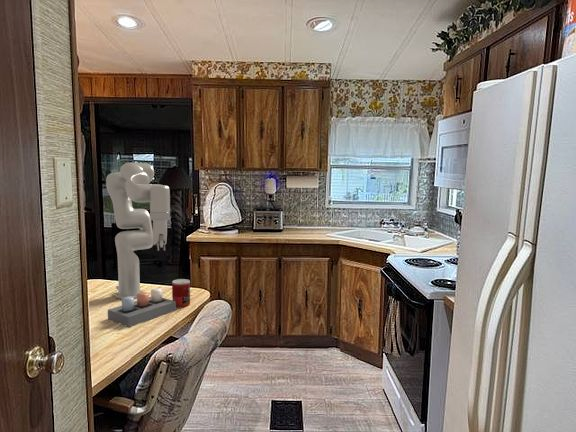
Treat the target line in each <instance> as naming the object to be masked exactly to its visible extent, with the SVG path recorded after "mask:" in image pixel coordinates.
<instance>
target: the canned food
mask: <svg viewBox="0 0 576 432" xmlns="http://www.w3.org/2000/svg"><path fill="white" fill-rule="evenodd" d="M171 281H172V282H171V293H172V295H171V297H172V298H171V300H172V301H176V308H186V307H189V306H190V305H191V281H190V279H185V278H177V279H174V280H171Z"/></svg>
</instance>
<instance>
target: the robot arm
mask: <svg viewBox="0 0 576 432" xmlns="http://www.w3.org/2000/svg"><path fill="white" fill-rule="evenodd" d="M154 176H155V169H154V167H153V165H151V164H150V163H147V162H126V163H124V164H122V166H121V167H120V171H117V172H111V173H108V175H107V176H106V179H105V185H106V186H105V187H106V189H107V193H108V195H109V197H110V199H111V201H112V208H113V214H114V221H115V224H116V227H117V228H119V229H121V230H125V229H126V230H125V231H120V232H118V233H117V234H116V235H115V237H114V242H115V248H116V254H117V255H116V256H117V273H118V275H117V277H118V279H117V280H118V283H117V284H118V285H116V287H115V289H117V292H116V293H115V298H116V299H118V300H122V298H123V297H128V296H132V297H134V299H137V294H138V293H141V292H144V291H143V290H141V283H140V281H141V280H140V276H141V275H140V273H141V272H140V259H139V257H138V255H137V254H136V253H135V251H138V250H139V251H140V250H148V249H151V248H152V247H153V246H155V254H156V259H157V260H156V261H159V262H160V261H166V258H167V257H166V256H167V252H166V244H167V239H168V238H167V237H168V221H169V220H171V197H170V196H171V195H170V193H171V192H170V191H171V189H170V187H169V186H168V185H165V184H164V185H163V184H159V183H157V184H156V183H155V184H154V183H153V184H151V182H152V181H153V180H154V178H155V177H154ZM133 203H138V204H139V203H143V204H144V203H149V211H148V210H147V209H145V208H134V207H133ZM149 212H150V213H149ZM129 229H136V230H129Z"/></svg>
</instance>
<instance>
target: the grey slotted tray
mask: <svg viewBox="0 0 576 432" xmlns="http://www.w3.org/2000/svg"><path fill="white" fill-rule="evenodd" d="M176 311H177V307H176V301H172V299H169V298H165V297H162V301H158V302H153V301H151V296H149V304H148V305H146V306H138V305H137V300H134V309H133V310H130V311H123V310H122V305H119V306H115V307H112V308H109V309H107V320H109V321H112V322H114V323H116V324H119V325H122V326H124V327H127V328H130V327H133V326H136V325H139V324H142V323H145V322H147V321H150V320H154V319H156V318H158V317H161V316H164V315H167V314H170V313H172V312H176Z"/></svg>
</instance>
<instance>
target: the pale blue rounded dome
mask: <svg viewBox="0 0 576 432" xmlns="http://www.w3.org/2000/svg"><path fill="white" fill-rule="evenodd" d="M134 302H135V298H134V297H132V296H128V297H123V298H122V299H121V306H122V310H123V311H130V310H133V309H134Z"/></svg>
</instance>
